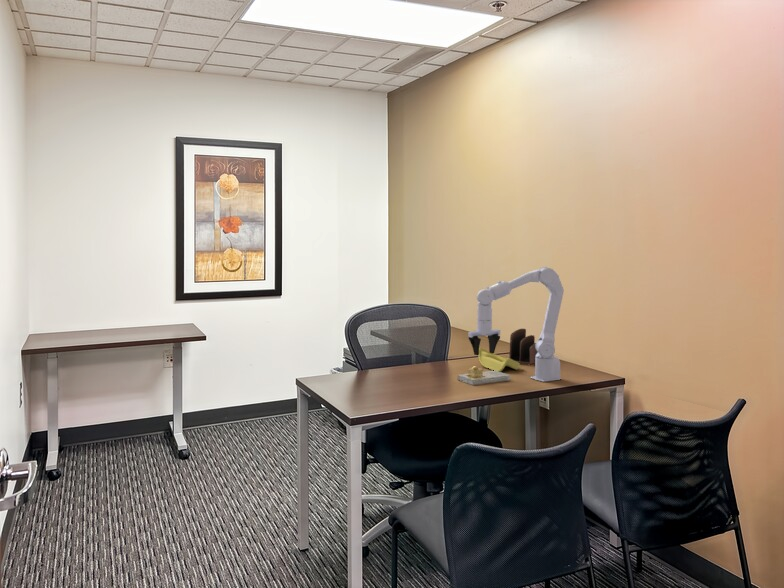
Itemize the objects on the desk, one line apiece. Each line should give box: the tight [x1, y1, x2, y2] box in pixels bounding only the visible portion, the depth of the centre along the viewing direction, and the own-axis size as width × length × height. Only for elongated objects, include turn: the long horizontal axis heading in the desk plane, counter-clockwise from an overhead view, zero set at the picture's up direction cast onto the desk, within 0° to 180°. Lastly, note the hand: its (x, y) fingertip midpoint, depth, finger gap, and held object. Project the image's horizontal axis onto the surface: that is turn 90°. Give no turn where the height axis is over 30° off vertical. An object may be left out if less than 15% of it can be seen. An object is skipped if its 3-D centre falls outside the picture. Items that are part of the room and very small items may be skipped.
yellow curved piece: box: [477, 347, 521, 372], centre depth 268 cm, size 20×7×10 cm
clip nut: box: [467, 365, 484, 378], centre depth 241 cm, size 4×4×4 cm
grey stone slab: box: [457, 370, 511, 386], centre depth 243 cm, size 18×10×2 cm, turn 118°
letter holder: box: [508, 328, 538, 365], centre depth 284 cm, size 10×20×14 cm, turn 149°
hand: (484, 354), depth 246 cm, fingers open, 7 cm apart
